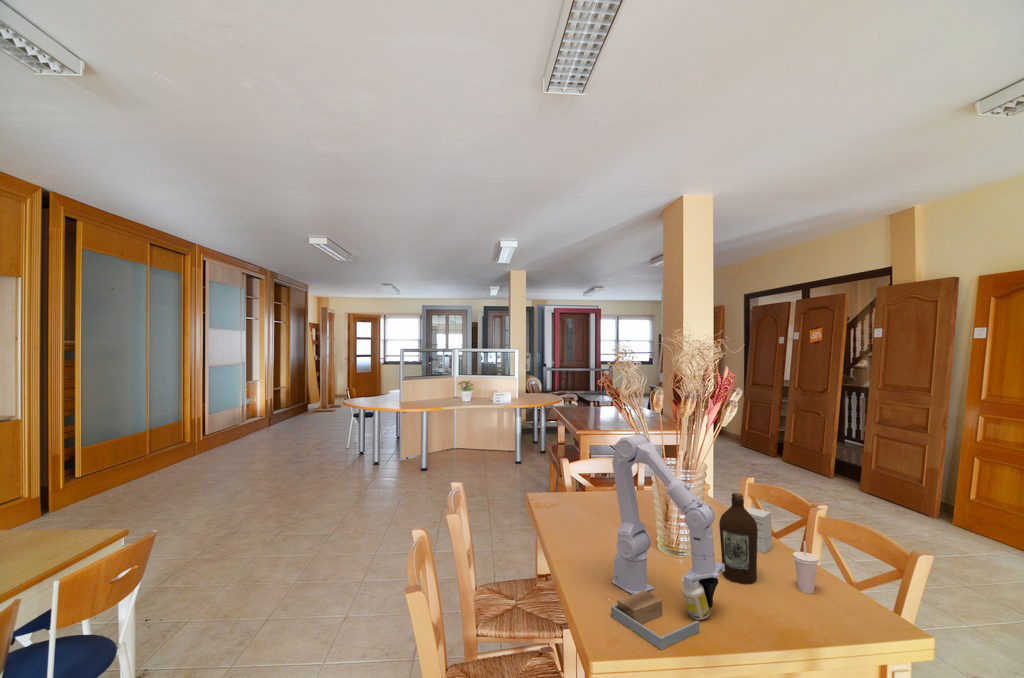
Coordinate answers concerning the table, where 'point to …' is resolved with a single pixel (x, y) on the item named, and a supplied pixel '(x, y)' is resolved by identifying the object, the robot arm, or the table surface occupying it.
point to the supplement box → (762, 529)
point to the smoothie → (805, 570)
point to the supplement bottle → (695, 600)
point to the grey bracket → (651, 636)
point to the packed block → (641, 606)
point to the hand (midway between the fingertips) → (707, 606)
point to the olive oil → (739, 542)
